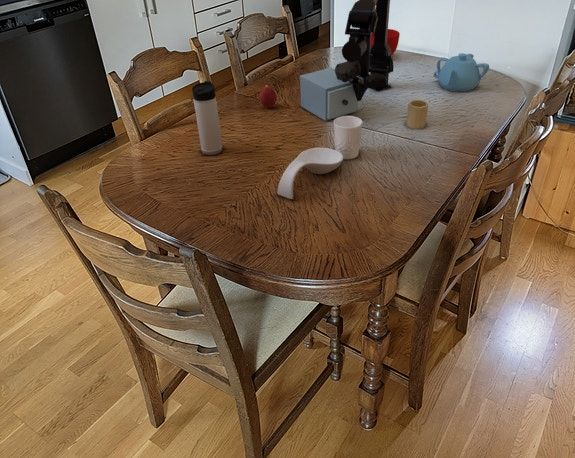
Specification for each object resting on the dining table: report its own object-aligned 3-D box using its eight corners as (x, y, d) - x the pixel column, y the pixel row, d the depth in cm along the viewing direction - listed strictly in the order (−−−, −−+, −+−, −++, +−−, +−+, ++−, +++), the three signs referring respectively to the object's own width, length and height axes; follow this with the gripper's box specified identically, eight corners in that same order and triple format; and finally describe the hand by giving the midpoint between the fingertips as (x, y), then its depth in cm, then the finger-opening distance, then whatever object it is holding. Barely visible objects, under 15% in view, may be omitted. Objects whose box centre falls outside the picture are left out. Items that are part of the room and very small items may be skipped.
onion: (277, 104, 174) (276, 82, 169) (276, 111, 169) (274, 88, 164) (261, 104, 174) (259, 82, 169) (259, 111, 170) (257, 88, 165)
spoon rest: (314, 154, 144) (314, 131, 140) (350, 164, 138) (351, 141, 134) (266, 192, 128) (264, 168, 124) (305, 205, 123) (304, 180, 119)
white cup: (364, 150, 145) (366, 118, 139) (355, 162, 139) (357, 129, 133) (338, 145, 148) (339, 114, 141) (329, 157, 142) (329, 125, 136)
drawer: (360, 111, 164) (361, 85, 159) (331, 120, 159) (331, 93, 154) (333, 97, 174) (334, 72, 169) (306, 105, 170) (305, 80, 164)
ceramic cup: (364, 66, 200) (366, 40, 194) (366, 52, 214) (367, 28, 208) (397, 66, 198) (400, 41, 192) (397, 53, 212) (399, 28, 206)
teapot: (492, 88, 177) (498, 57, 170) (449, 96, 173) (454, 64, 167) (467, 74, 189) (472, 44, 182) (426, 81, 185) (430, 51, 178)
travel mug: (226, 146, 150) (218, 81, 138) (217, 156, 145) (208, 90, 133) (208, 143, 152) (198, 79, 140) (198, 154, 147) (187, 88, 135)
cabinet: (356, 111, 166) (358, 79, 160) (325, 121, 161) (325, 88, 155) (331, 97, 177) (331, 67, 170) (300, 106, 172) (300, 75, 165)
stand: (416, 119, 160) (418, 98, 156) (429, 125, 156) (432, 104, 152) (402, 123, 158) (404, 102, 153) (415, 130, 153) (418, 109, 149)
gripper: (321, 49, 154) (321, 98, 163) (359, 65, 141) (357, 116, 150) (350, 42, 158) (348, 90, 167) (389, 56, 145) (385, 107, 154)
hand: (358, 100), depth 160 cm, fingers closed
